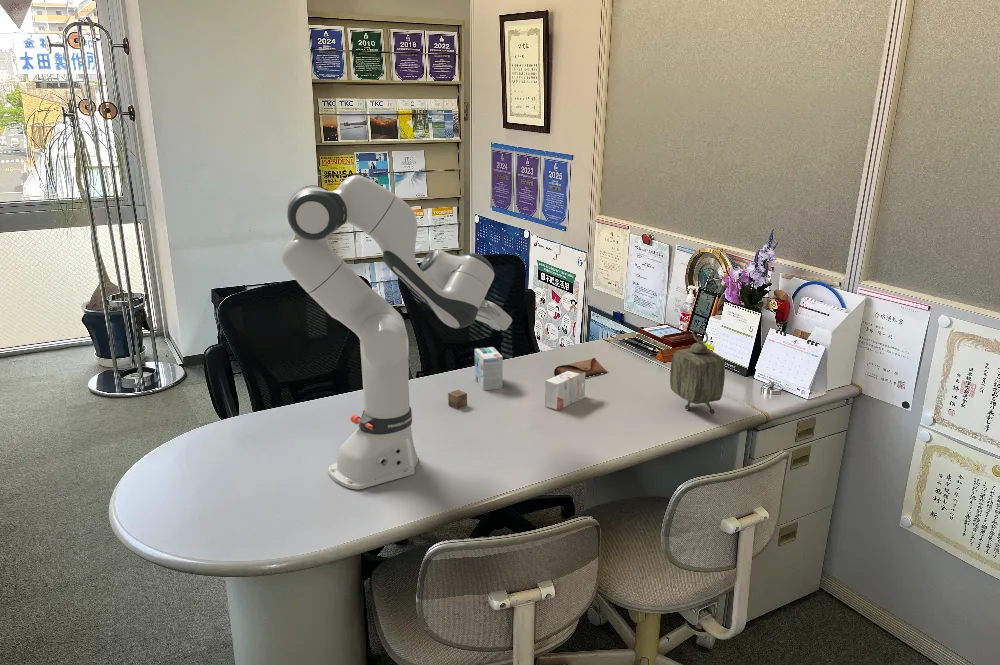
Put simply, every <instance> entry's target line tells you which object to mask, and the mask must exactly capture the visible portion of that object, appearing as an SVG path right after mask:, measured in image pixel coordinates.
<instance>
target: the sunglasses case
mask: <svg viewBox="0 0 1000 665" xmlns="http://www.w3.org/2000/svg"><path fill="white" fill-rule="evenodd" d="M566 371H571V372H575V373H579V374H582V373H584V372H585V379H586V377H587V378H590V377H589V376H591V377H594V376H593V375H595V376H598V375H597V374H599V375H602V374H601V373H604V374H608V373H607V372H609V371H607V370H606V369H605V367H603V366H602V364H601V363H599V361H597V359H596V357H593V358H590V359H587V360H581V361H577V362H572V363H568V364H562V365H558V366H557V367H555V369H554V370H553V374H554V377H555V376H557V375H560V374H562V373H564V372H566Z"/></svg>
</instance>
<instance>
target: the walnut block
mask: <svg viewBox="0 0 1000 665" xmlns="http://www.w3.org/2000/svg"><path fill="white" fill-rule="evenodd" d="M447 398H448V399H447V401H448V404H447V406H448V405H449V407H451V408H454V409H455V410H459V409H462V408H464V407H467V406H468V393H467V392H466V391H463V390H460V389H457V390H456V389H455V390H453V391H450V392H448V393H447Z"/></svg>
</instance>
